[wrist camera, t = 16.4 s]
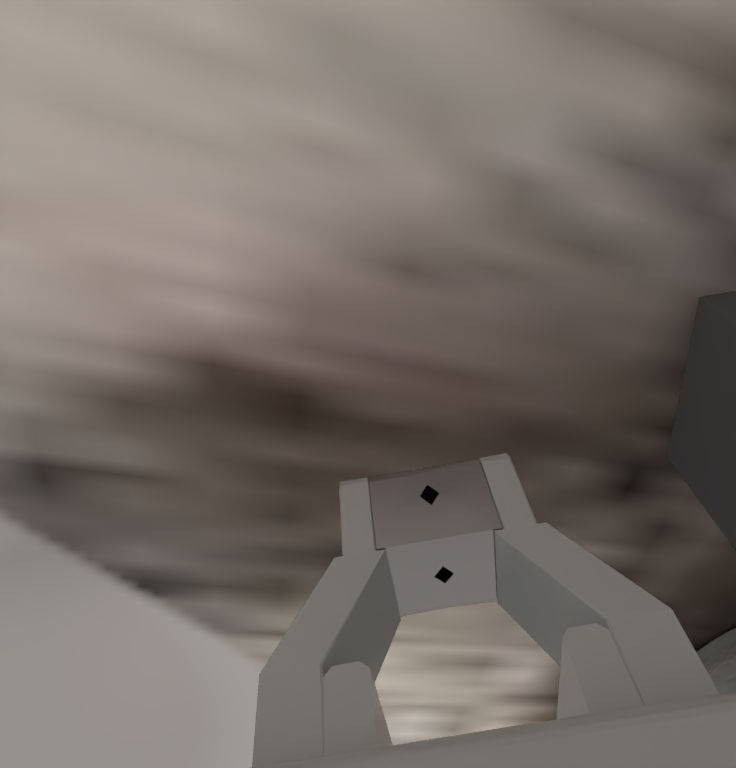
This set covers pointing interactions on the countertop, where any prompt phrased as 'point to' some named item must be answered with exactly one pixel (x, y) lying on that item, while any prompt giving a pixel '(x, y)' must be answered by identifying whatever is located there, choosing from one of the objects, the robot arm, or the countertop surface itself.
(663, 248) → the countertop surface
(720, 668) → the cereal bowl
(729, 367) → the dark grey cube
